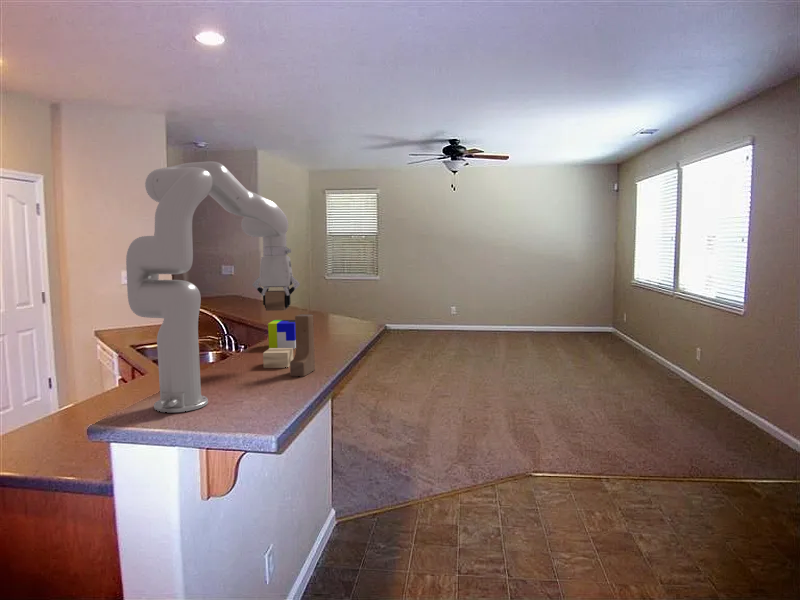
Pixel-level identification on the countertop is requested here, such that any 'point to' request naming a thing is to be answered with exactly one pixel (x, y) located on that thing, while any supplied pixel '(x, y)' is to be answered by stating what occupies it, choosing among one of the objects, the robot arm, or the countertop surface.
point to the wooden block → (303, 346)
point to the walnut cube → (275, 300)
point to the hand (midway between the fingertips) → (277, 306)
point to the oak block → (277, 357)
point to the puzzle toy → (282, 334)
